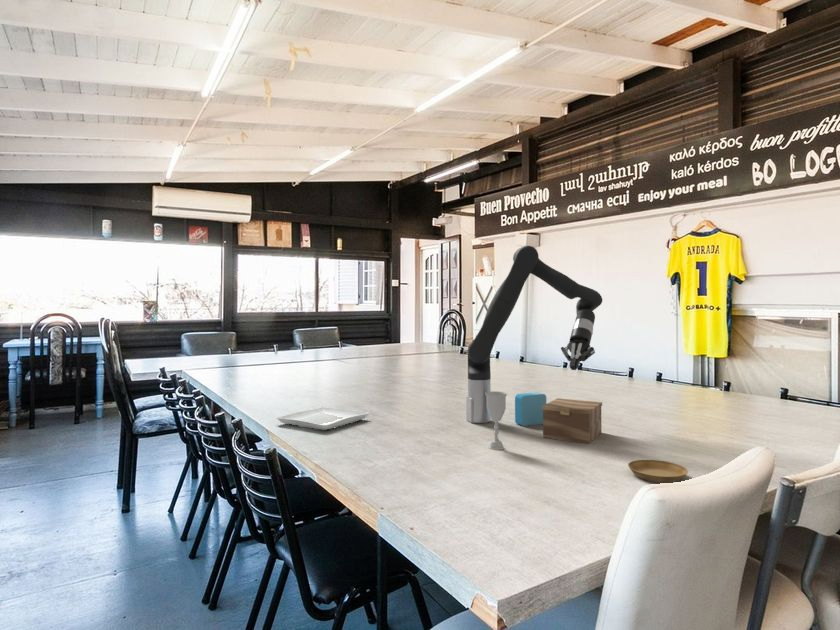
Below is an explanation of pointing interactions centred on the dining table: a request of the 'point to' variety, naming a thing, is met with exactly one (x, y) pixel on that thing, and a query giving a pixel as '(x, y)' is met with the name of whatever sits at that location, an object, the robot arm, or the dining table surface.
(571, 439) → the walnut box
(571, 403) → the walnut lid
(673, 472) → the plant saucer
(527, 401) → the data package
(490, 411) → the chalice
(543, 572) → the dining table surface
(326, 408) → the square plate
